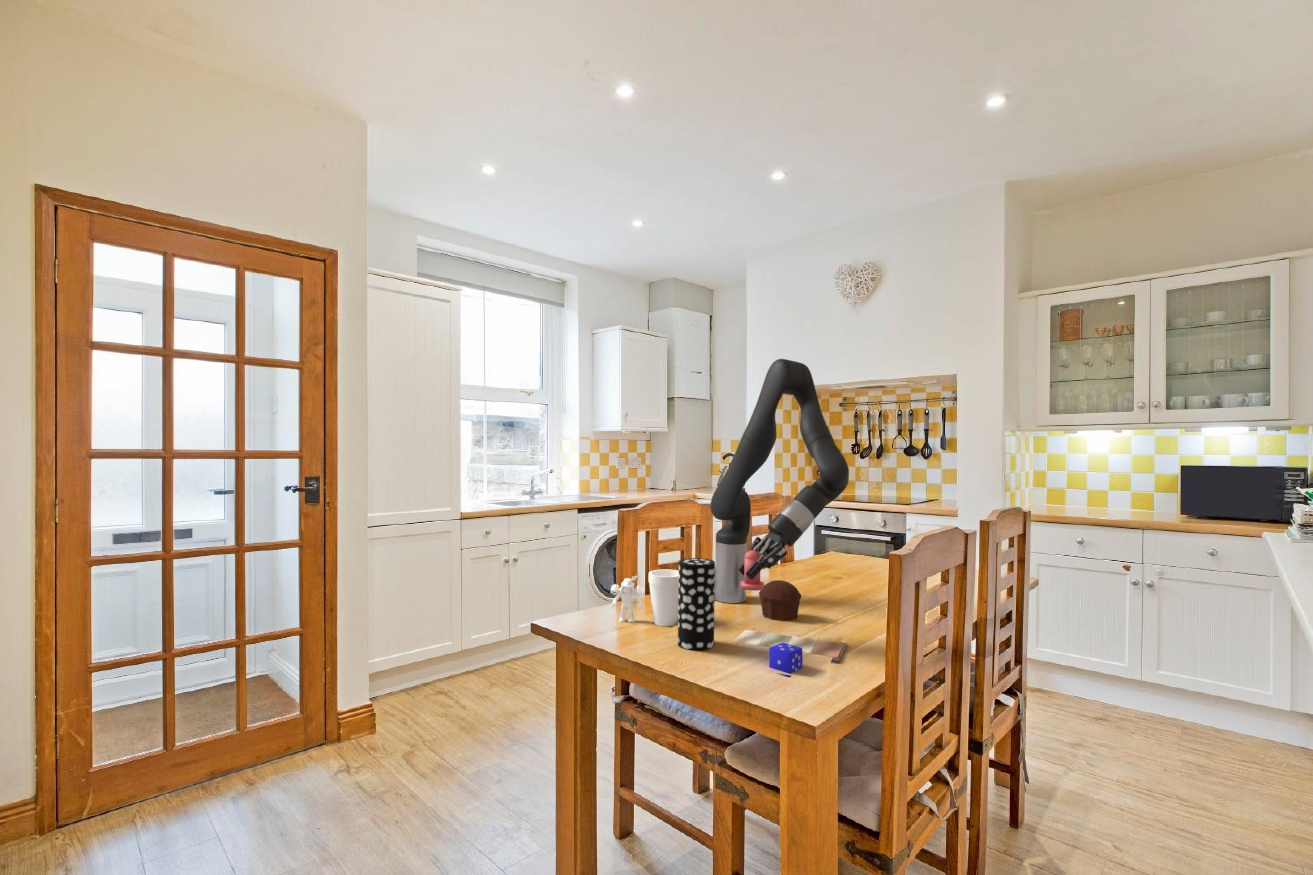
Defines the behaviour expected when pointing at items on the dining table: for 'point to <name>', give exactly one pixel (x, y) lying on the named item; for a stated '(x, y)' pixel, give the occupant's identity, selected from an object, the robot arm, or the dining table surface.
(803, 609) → the dining table surface
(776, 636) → the game track
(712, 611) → the white-spotted black cylinder
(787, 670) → the die
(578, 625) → the dining table surface
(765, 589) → the muffin
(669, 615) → the foam cup
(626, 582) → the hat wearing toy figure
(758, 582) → the pawn
